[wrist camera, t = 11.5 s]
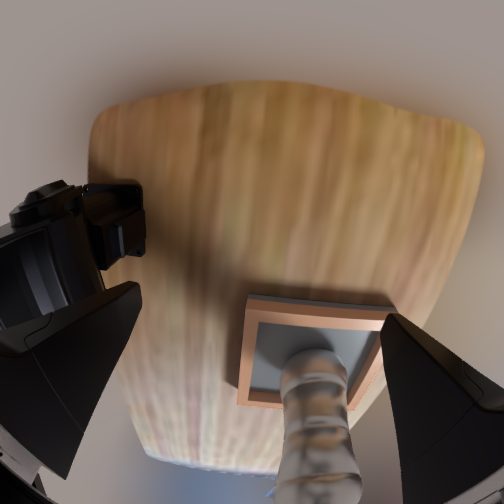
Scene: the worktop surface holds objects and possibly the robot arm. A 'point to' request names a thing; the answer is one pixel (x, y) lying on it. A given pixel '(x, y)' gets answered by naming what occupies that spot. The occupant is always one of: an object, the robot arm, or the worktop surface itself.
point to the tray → (307, 344)
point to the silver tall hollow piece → (316, 433)
